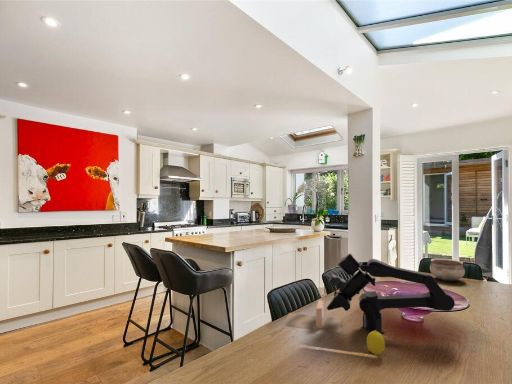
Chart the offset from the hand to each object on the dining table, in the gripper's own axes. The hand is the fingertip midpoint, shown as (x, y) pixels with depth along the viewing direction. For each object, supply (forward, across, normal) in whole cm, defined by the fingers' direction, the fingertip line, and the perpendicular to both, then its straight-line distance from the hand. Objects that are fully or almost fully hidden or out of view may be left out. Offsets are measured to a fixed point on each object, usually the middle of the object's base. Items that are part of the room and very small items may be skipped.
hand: (327, 309), depth 118 cm
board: (+9, 0, 0) cm, 9 cm away
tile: (+6, 0, +2) cm, 7 cm away
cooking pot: (-45, -93, +54) cm, 117 cm away
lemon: (-7, +19, +16) cm, 26 cm away
